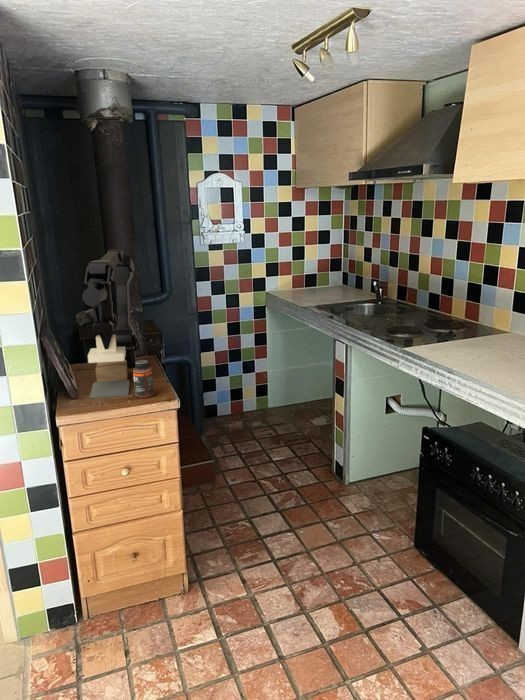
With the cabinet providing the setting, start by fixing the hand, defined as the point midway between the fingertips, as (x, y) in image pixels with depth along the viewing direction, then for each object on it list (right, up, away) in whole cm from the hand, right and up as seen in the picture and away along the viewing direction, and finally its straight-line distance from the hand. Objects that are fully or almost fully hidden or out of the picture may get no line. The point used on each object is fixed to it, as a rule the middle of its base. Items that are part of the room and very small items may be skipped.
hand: (106, 348), depth 177 cm
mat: (+1, -14, +1) cm, 14 cm away
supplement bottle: (+13, -15, -4) cm, 21 cm away
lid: (0, -3, +1) cm, 4 cm away
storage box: (-2, -11, +12) cm, 16 cm away
